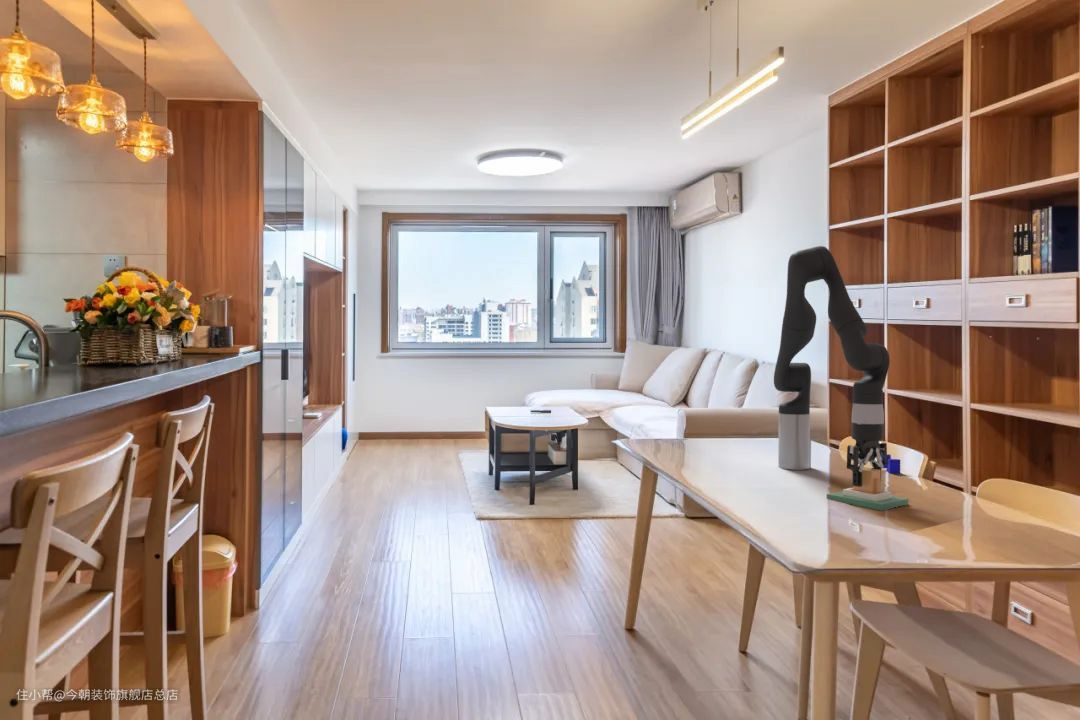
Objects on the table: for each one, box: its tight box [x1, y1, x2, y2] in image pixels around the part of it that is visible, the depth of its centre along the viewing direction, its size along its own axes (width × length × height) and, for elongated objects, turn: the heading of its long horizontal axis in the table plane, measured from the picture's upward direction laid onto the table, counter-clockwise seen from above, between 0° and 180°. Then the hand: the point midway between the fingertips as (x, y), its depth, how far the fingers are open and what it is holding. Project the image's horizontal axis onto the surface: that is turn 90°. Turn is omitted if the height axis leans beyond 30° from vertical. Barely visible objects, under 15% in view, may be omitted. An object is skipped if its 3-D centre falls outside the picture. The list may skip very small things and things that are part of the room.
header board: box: [826, 487, 909, 511], centre depth 183 cm, size 12×15×3 cm
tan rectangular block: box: [852, 466, 882, 494], centre depth 183 cm, size 4×6×7 cm
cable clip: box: [881, 453, 901, 475], centre depth 224 cm, size 12×4×6 cm, turn 168°
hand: (867, 484), depth 183 cm, fingers open, 8 cm apart
